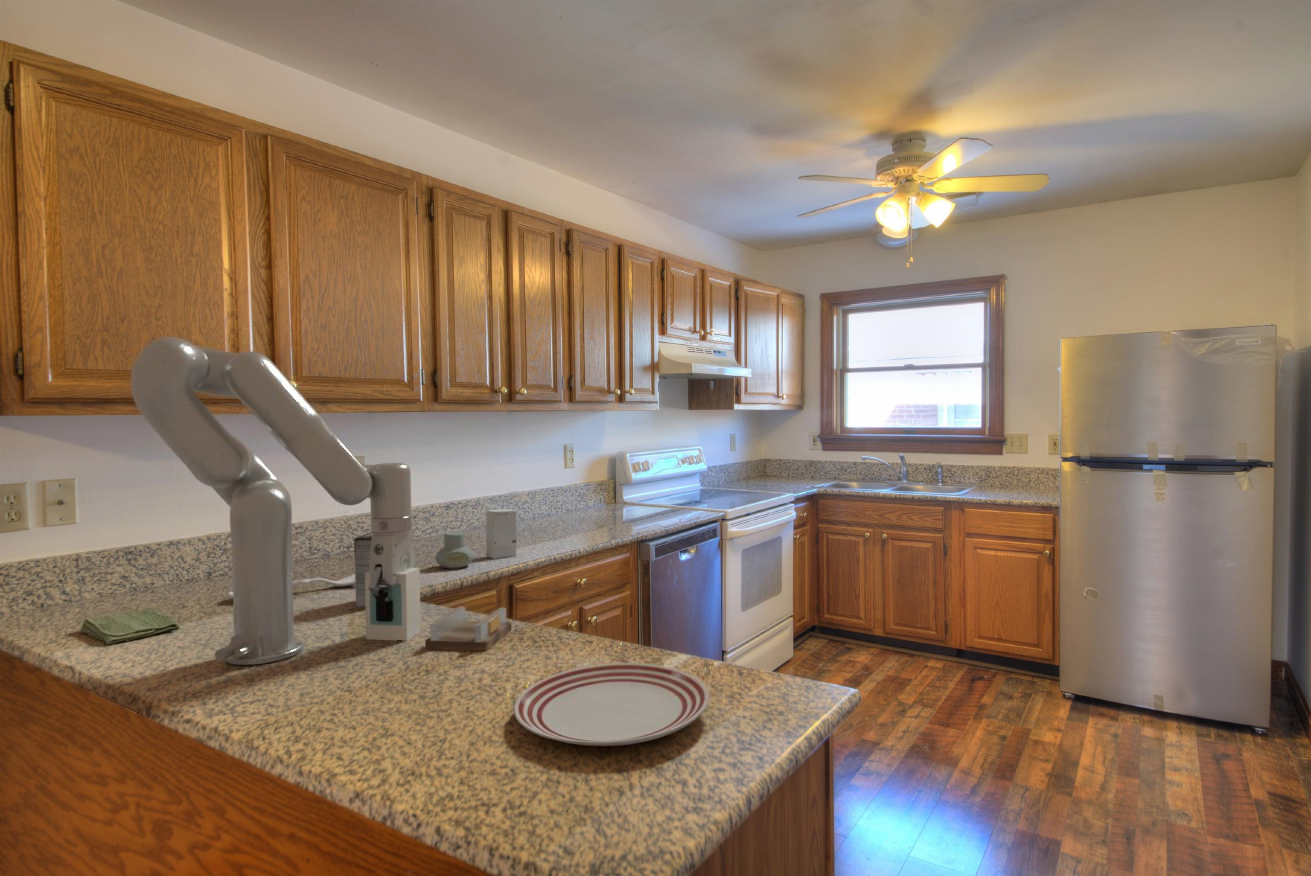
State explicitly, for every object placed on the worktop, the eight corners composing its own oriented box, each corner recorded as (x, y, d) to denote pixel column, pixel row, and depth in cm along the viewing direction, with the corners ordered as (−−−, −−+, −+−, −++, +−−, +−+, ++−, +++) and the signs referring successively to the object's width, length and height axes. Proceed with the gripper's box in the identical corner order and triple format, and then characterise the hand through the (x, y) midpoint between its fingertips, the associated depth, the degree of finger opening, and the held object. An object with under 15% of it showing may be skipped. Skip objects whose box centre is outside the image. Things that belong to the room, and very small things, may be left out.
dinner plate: (541, 783, 80) (541, 755, 80) (497, 699, 106) (496, 677, 106) (746, 738, 91) (746, 713, 91) (661, 671, 117) (661, 652, 116)
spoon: (372, 587, 181) (372, 574, 181) (229, 607, 162) (229, 592, 162) (364, 581, 188) (363, 568, 188) (226, 599, 170) (225, 585, 169)
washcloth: (107, 649, 133) (106, 632, 133) (77, 633, 143) (77, 618, 143) (184, 632, 143) (184, 616, 143) (152, 618, 154) (151, 604, 154)
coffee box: (371, 597, 169) (370, 531, 169) (397, 596, 169) (396, 531, 169) (354, 607, 160) (353, 537, 160) (382, 606, 160) (380, 537, 160)
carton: (406, 641, 134) (405, 574, 134) (365, 639, 135) (364, 573, 135) (420, 632, 140) (419, 568, 139) (381, 630, 141) (380, 567, 141)
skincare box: (492, 559, 216) (492, 511, 216) (485, 556, 221) (484, 509, 221) (517, 556, 221) (517, 509, 221) (510, 553, 226) (509, 507, 226)
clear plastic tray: (482, 642, 128) (482, 626, 128) (430, 640, 129) (430, 624, 129) (507, 622, 141) (507, 607, 141) (460, 620, 142) (459, 606, 142)
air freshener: (436, 571, 199) (435, 536, 199) (434, 565, 207) (434, 532, 207) (475, 567, 203) (475, 533, 203) (472, 562, 211) (471, 530, 211)
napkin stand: (486, 650, 128) (486, 642, 128) (425, 648, 130) (425, 640, 130) (511, 629, 141) (511, 622, 141) (455, 627, 142) (455, 620, 142)
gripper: (386, 532, 128) (388, 629, 128) (429, 519, 145) (431, 605, 145) (348, 532, 129) (350, 628, 129) (395, 519, 146) (397, 604, 146)
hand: (393, 615), depth 137 cm, fingers closed on carton, 5 cm apart
